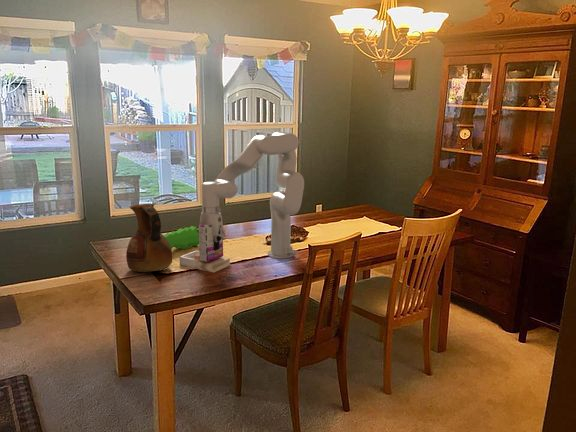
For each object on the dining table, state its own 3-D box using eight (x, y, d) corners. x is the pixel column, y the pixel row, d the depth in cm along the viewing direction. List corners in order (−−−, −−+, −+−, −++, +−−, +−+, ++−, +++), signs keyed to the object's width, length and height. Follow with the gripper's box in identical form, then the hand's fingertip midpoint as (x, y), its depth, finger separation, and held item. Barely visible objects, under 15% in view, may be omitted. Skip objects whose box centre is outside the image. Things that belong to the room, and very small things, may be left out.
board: (229, 265, 235) (229, 258, 235) (213, 272, 225) (213, 265, 224) (212, 261, 240) (212, 255, 239) (196, 268, 230) (195, 261, 229)
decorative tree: (207, 221, 265) (159, 229, 243) (213, 243, 264) (164, 253, 242) (194, 226, 273) (146, 234, 250) (199, 247, 272) (151, 257, 250)
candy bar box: (215, 254, 238) (215, 220, 234) (223, 256, 235) (223, 222, 232) (198, 260, 229) (197, 224, 225) (206, 262, 226) (206, 226, 223)
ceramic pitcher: (154, 260, 241) (152, 197, 234) (182, 269, 228) (180, 204, 222) (118, 270, 226) (114, 203, 219) (145, 280, 213) (142, 211, 207)
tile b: (206, 259, 233) (206, 254, 232) (200, 261, 229) (199, 256, 229) (199, 258, 235) (199, 253, 234) (193, 260, 232) (193, 255, 231)
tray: (211, 261, 240) (211, 253, 239) (195, 268, 230) (194, 259, 229) (196, 258, 244) (196, 250, 244) (179, 265, 234) (179, 256, 233)
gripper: (231, 210, 226) (231, 249, 230) (200, 206, 234) (201, 244, 238) (221, 213, 220) (221, 254, 224) (190, 209, 228) (191, 248, 232)
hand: (211, 248), depth 231 cm, fingers closed on candy bar box, 5 cm apart
